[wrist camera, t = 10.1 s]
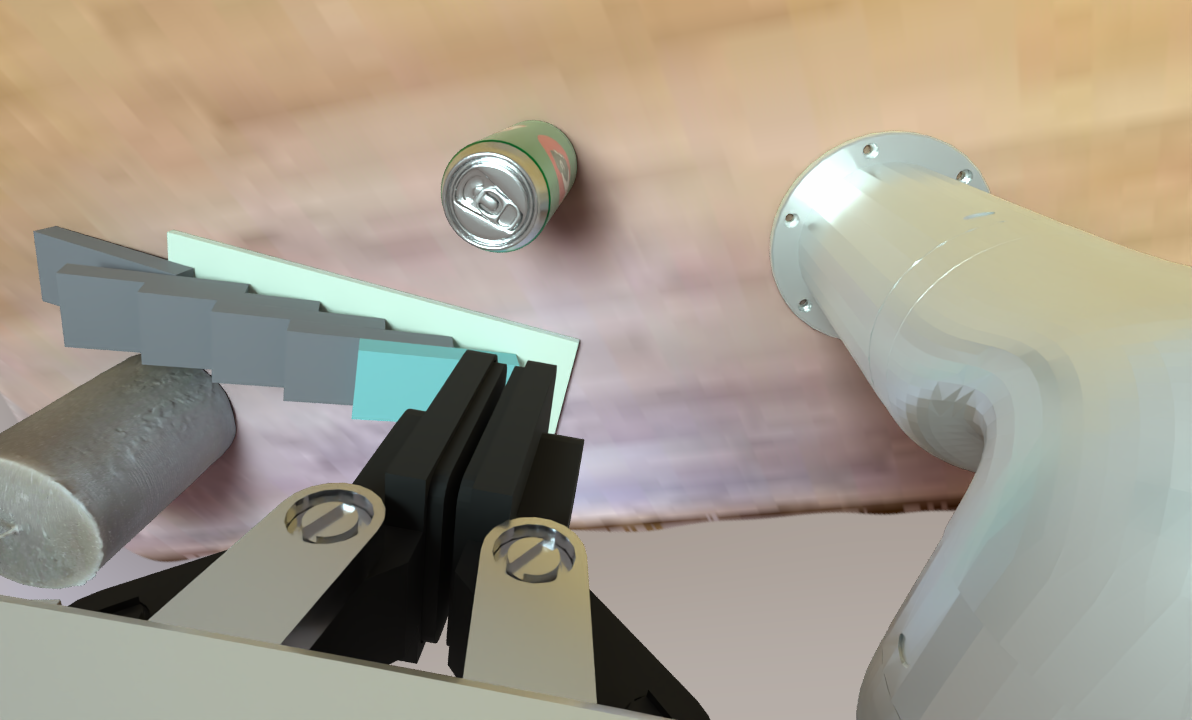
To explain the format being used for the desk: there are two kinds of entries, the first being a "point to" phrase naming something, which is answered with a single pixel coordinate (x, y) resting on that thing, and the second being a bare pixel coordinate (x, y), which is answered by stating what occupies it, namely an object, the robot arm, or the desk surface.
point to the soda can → (508, 185)
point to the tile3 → (261, 340)
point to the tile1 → (404, 376)
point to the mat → (377, 305)
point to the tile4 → (190, 321)
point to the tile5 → (112, 304)
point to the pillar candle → (103, 467)
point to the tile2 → (334, 358)
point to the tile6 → (91, 258)
